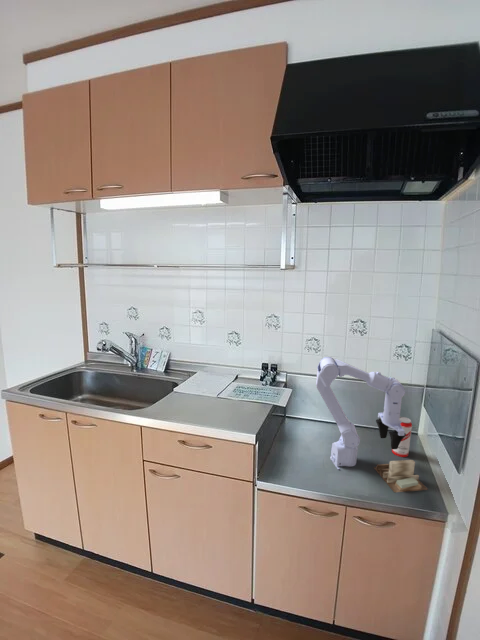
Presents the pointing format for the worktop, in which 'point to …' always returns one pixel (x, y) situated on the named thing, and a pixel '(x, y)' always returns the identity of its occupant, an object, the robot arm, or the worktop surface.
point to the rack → (395, 478)
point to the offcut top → (407, 482)
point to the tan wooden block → (401, 468)
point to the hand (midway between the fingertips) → (388, 443)
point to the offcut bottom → (409, 487)
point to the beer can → (405, 442)
